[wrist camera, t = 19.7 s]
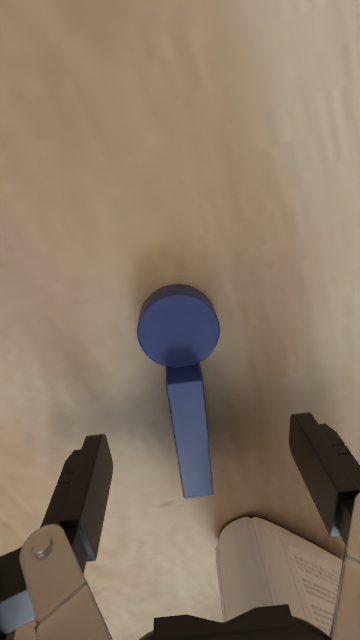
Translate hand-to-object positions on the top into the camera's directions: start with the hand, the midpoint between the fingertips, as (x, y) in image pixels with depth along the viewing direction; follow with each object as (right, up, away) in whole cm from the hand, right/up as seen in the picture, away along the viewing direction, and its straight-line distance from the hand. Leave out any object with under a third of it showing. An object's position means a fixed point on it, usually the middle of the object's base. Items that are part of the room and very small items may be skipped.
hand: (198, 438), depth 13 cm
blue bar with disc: (-1, +2, +1) cm, 2 cm away
